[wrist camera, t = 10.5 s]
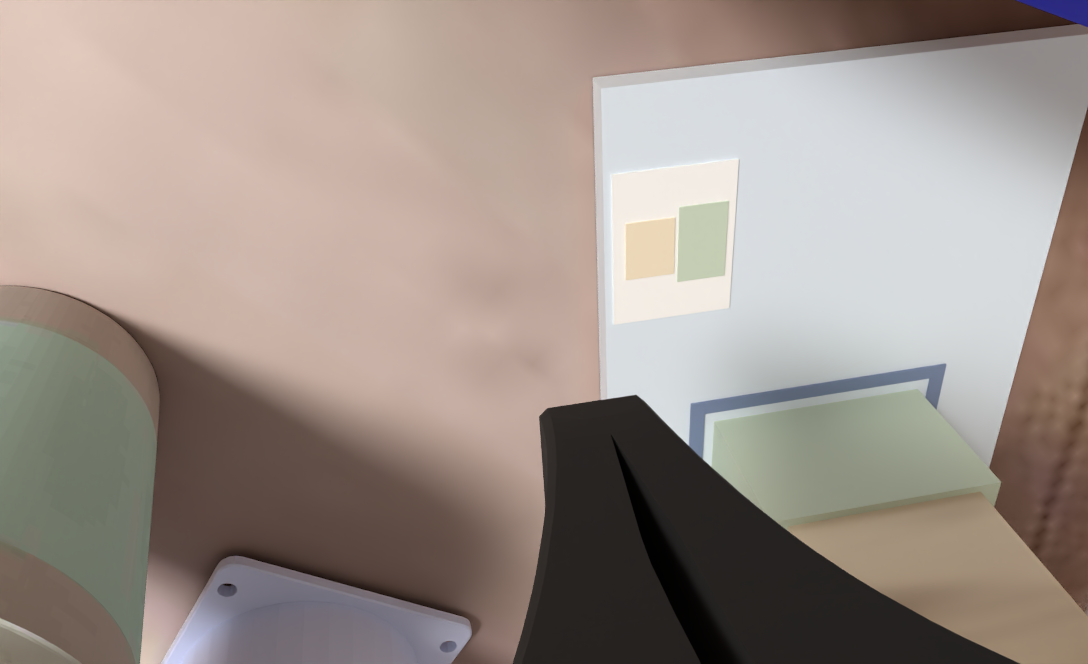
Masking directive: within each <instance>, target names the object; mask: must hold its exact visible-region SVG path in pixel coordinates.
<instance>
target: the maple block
mask: <svg viewBox="0 0 1088 664" xmlns="http://www.w3.org/2000/svg"><path fill="white" fill-rule="evenodd" d="M788 531H789V532H790V533H791V534H793V535H794V536H795V537H797V538H798V539H799V540H801V541H802V542H803V543H805V544H806V545H808V546H809V547H810V548H812V549H813V550H815V551H816V552H817V553H819V554H820V555H822V556H824V557H825V558H827V559H828V560H830V561H831V562H833V563H834V564H836V565H837V566H839V567H840V568H842V569H843V570H845V571H846V572H848V573H849V574H851V575H852V576H854V577H855V578H857V579H859V580H860V581H862V582H864V583H865V584H867V585H869V586H870V587H872V588H874V589H875V590H877V591H879V592H880V593H882V594H884V595H886V596H888V597H889V598H891V599H893V600H895V601H897V602H898V603H900V604H902V605H904V606H906V607H907V608H909V609H911V610H913V611H915V612H916V613H918V614H920V615H922V616H924V617H925V618H927V619H929V620H931V621H933V622H935V623H937V624H939V625H941V626H943V627H945V628H947V629H948V630H950V631H952V632H954V633H956V634H958V635H960V636H962V637H964V638H966V639H969V640H971V641H973V642H975V643H977V644H979V645H981V646H984V647H986V648H988V649H990V650H992V651H994V652H996V653H999V654H1001V655H1003V656H1005V657H1007V658H1009V659H1011V660H1014V661H1016V662H1018V663H1020V664H1088V616H1087V615H1086V614H1085V613H1084V611H1083V610H1082V609H1081V608H1080V607H1079V606H1078V604H1077V603H1076V602H1075V601H1074V600H1073V599H1072V597H1071V596H1070V595H1069V594H1068V593H1067V592H1066V590H1065V589H1064V588H1063V587H1062V586H1061V585H1060V584H1059V582H1058V581H1057V580H1056V579H1055V578H1054V577H1053V575H1052V574H1051V573H1050V572H1049V571H1048V570H1047V568H1046V567H1045V566H1044V565H1043V564H1042V563H1041V561H1040V560H1039V559H1038V558H1037V557H1036V556H1035V554H1034V553H1033V552H1032V551H1031V550H1030V549H1029V547H1028V546H1027V545H1026V544H1025V543H1024V542H1023V540H1022V539H1021V538H1020V537H1019V536H1018V535H1017V533H1016V532H1015V531H1014V530H1013V529H1012V528H1011V526H1010V525H1009V524H1008V523H1007V522H1006V521H1005V519H1004V518H1003V517H1002V516H1001V515H1000V514H999V512H998V511H997V510H996V509H995V508H994V507H993V506H992V504H991V503H990V502H989V501H988V500H987V499H986V497H985V496H984V495H983V494H982V493H981V492H975V493H969V494H964V495H958V496H953V497H948V498H942V499H937V500H931V501H926V502H920V503H915V504H909V505H904V506H898V507H893V508H887V509H882V510H876V511H871V512H865V513H860V514H854V515H849V516H843V517H838V518H832V519H827V520H821V521H816V522H810V523H805V524H799V525H794V526H789V527H788Z"/></svg>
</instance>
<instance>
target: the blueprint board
mask: <svg viewBox="0 0 1088 664" xmlns="http://www.w3.org/2000/svg"><path fill="white" fill-rule="evenodd" d="M1087 108H1088V27H1086V26H1083V25H1080V24H1074V25H1065V26H1056V27H1047V28H1038V29H1029V30H1019V31H1010V32H1001V33H992V34H983V35H974V36H965V37H956V38H947V39H938V40H929V41H920V42H911V43H901V44H892V45H883V46H874V47H865V48H856V49H847V50H838V51H829V52H820V53H811V54H802V55H793V56H784V57H774V58H765V59H756V60H747V61H738V62H729V63H720V64H711V65H702V66H693V67H684V68H675V69H666V70H657V71H647V72H638V73H629V74H620V75H611V76H602V77H593V111H594V151H595V192H596V233H597V273H598V314H599V354H600V395H601V400H605V399H611V398H618V397H624V396H631V395H637V396H639V397H640V398H641V399H642V400H644V401H645V402H646V403H647V404H648V405H649V406H650V407H651V408H652V409H653V411H654V412H655V413H656V414H657V415H658V416H659V417H660V418H661V419H662V420H663V421H664V422H665V423H666V424H667V425H668V426H669V427H670V428H671V429H672V430H673V431H674V432H675V433H676V434H677V435H678V436H679V437H680V438H681V439H682V440H683V441H684V442H685V443H686V444H687V445H689V446H690V447H691V448H692V449H693V450H694V451H695V452H696V453H697V454H698V455H699V456H700V457H701V458H702V459H703V460H704V461H705V462H706V463H708V464H709V465H710V466H711V467H712V450H713V433H714V421H720V420H727V419H733V418H739V417H745V416H752V415H758V414H764V413H770V412H777V411H783V410H789V409H795V408H801V407H808V406H814V405H820V404H826V403H833V402H839V401H845V400H851V399H858V398H864V397H870V396H876V395H883V394H889V393H895V392H901V391H908V390H914V389H918V390H919V391H920V392H921V393H922V394H923V396H924V397H925V398H926V399H927V400H928V401H929V402H930V403H931V404H932V406H933V407H934V408H935V409H936V410H937V411H938V412H939V413H940V414H941V416H942V417H943V418H944V419H945V420H946V421H947V422H948V423H949V424H950V426H951V427H952V428H953V429H954V430H955V431H956V432H957V433H958V434H959V436H960V437H961V438H962V439H963V440H964V441H965V442H966V443H967V444H968V446H969V447H970V448H971V449H972V450H973V451H974V452H975V453H976V455H977V456H978V457H979V458H980V459H981V460H982V461H983V462H984V463H985V465H986V466H987V467H988V468H989V467H990V463H991V459H992V456H993V452H994V448H995V445H996V441H997V437H998V434H999V430H1000V426H1001V423H1002V419H1003V415H1004V412H1005V408H1006V404H1007V401H1008V397H1009V393H1010V390H1011V386H1012V382H1013V379H1014V375H1015V371H1016V368H1017V364H1018V360H1019V357H1020V353H1021V349H1022V346H1023V342H1024V338H1025V335H1026V331H1027V327H1028V324H1029V320H1030V316H1031V313H1032V309H1033V305H1034V302H1035V298H1036V294H1037V291H1038V287H1039V283H1040V280H1041V276H1042V272H1043V269H1044V265H1045V261H1046V258H1047V254H1048V250H1049V247H1050V243H1051V239H1052V236H1053V232H1054V228H1055V225H1056V221H1057V217H1058V214H1059V210H1060V206H1061V203H1062V199H1063V195H1064V192H1065V188H1066V184H1067V181H1068V177H1069V173H1070V170H1071V166H1072V162H1073V159H1074V155H1075V151H1076V148H1077V144H1078V141H1079V137H1080V133H1081V130H1082V126H1083V122H1084V119H1085V115H1086V111H1087Z"/></svg>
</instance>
